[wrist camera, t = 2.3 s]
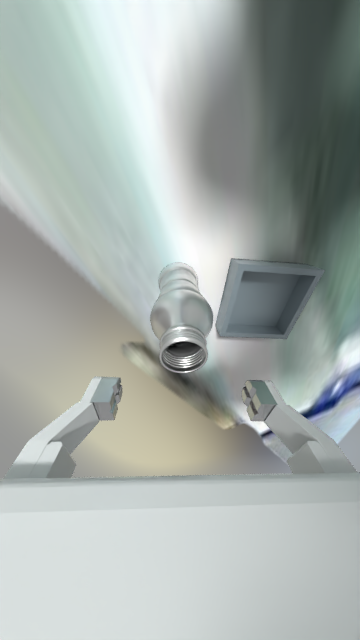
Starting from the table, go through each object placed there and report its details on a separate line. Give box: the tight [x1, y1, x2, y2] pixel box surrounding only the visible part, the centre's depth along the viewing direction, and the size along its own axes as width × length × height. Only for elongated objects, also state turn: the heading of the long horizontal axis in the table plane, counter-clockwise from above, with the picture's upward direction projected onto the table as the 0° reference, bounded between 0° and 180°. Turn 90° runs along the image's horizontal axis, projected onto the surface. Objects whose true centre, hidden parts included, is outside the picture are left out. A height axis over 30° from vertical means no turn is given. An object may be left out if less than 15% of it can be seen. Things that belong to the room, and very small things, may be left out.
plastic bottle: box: [150, 262, 213, 373], centre depth 20 cm, size 6×7×20 cm
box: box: [216, 258, 325, 339], centre depth 30 cm, size 14×14×4 cm
